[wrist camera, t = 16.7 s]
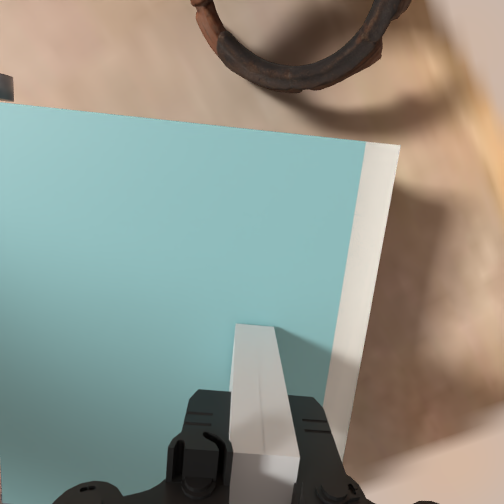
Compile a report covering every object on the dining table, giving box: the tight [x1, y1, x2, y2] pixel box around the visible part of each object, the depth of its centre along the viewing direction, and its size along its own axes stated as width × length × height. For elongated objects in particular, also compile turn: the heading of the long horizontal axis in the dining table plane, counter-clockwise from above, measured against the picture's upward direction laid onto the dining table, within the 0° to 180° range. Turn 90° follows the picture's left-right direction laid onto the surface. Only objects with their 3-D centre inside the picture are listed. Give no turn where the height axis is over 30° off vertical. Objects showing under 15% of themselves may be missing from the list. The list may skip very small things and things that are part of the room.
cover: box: [0, 102, 401, 504], centre depth 15 cm, size 14×17×1 cm
